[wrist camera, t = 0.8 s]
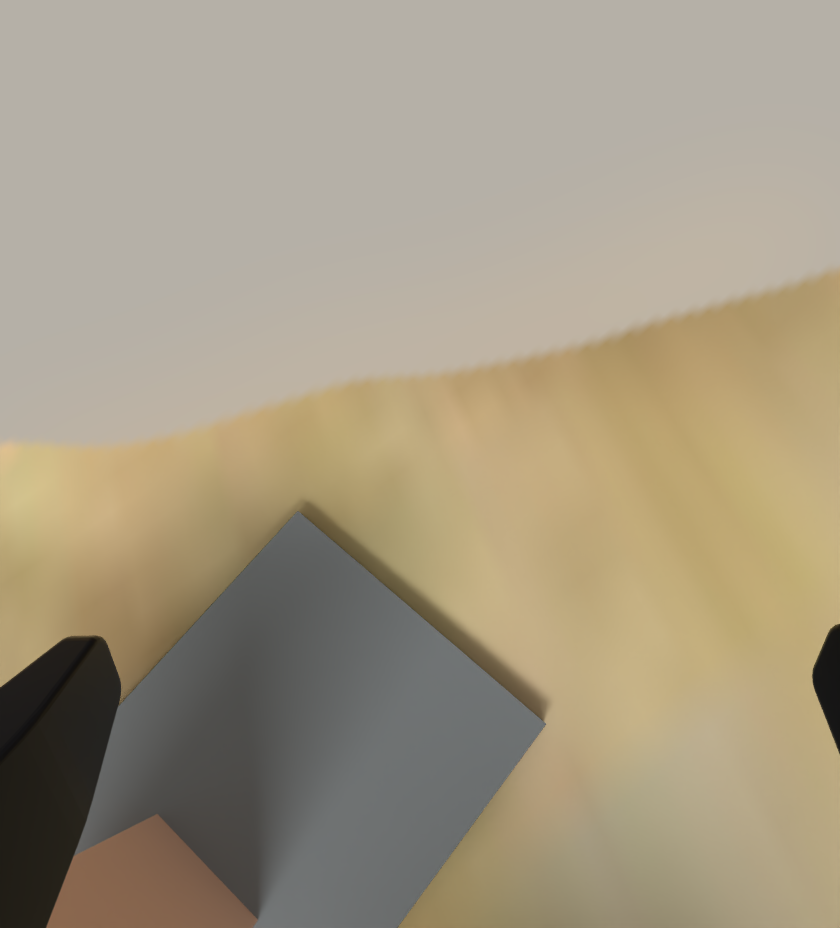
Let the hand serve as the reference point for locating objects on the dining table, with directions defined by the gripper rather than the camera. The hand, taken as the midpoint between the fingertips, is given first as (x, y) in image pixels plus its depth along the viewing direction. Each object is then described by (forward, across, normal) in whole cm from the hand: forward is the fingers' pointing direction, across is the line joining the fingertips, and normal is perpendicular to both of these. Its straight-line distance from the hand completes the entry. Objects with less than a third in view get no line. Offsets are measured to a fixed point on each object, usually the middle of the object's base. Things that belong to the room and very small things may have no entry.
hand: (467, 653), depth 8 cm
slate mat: (+5, +6, +12) cm, 15 cm away
